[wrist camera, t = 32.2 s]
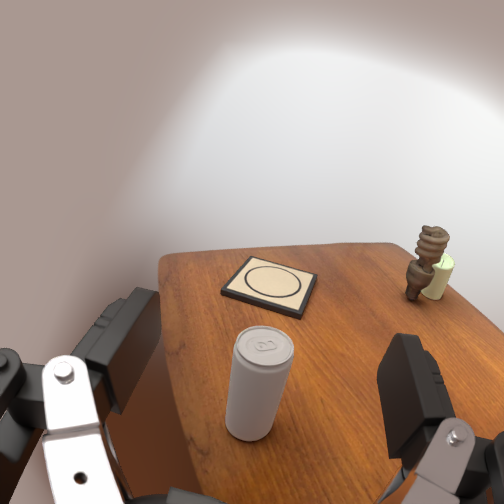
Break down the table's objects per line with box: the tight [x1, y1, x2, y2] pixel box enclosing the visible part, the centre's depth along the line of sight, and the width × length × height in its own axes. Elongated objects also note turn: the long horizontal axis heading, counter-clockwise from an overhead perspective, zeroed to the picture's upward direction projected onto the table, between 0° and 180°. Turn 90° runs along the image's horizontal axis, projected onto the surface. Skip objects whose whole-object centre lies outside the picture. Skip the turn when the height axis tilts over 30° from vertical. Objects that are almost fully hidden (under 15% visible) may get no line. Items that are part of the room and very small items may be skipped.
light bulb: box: [406, 226, 450, 300], centre depth 52 cm, size 6×6×15 cm
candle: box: [421, 253, 455, 300], centre depth 56 cm, size 5×5×8 cm
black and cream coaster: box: [220, 256, 317, 319], centre depth 54 cm, size 13×13×1 cm
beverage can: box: [225, 326, 294, 441], centre depth 27 cm, size 5×5×12 cm
